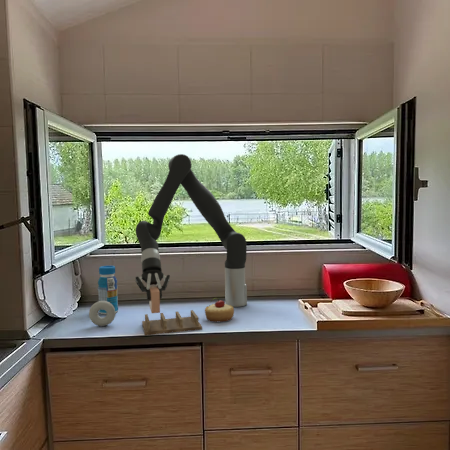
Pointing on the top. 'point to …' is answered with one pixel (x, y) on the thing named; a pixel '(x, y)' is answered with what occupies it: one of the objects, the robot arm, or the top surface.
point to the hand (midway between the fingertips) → (154, 299)
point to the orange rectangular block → (154, 299)
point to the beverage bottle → (108, 287)
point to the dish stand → (171, 324)
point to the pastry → (219, 312)
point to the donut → (102, 320)
